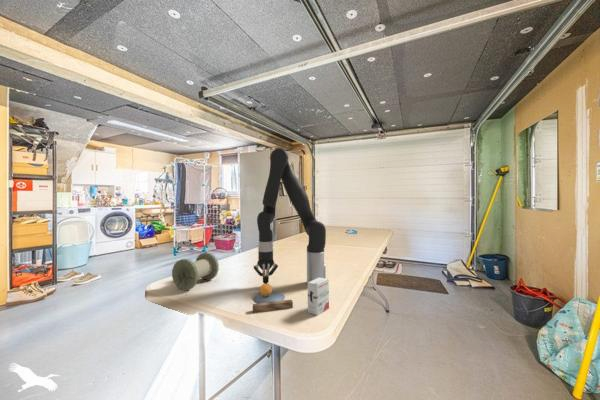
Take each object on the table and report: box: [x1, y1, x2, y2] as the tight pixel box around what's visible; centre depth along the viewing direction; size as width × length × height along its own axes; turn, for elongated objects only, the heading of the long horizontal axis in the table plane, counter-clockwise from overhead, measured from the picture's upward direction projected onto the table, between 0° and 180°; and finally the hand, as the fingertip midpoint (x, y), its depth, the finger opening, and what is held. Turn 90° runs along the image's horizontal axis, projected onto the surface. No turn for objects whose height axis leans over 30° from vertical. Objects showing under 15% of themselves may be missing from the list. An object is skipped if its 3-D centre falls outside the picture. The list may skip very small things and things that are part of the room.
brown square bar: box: [252, 299, 294, 314], centre depth 89 cm, size 16×2×2 cm, turn 105°
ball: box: [259, 283, 273, 297], centre depth 102 cm, size 6×6×6 cm
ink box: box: [307, 277, 330, 316], centre depth 89 cm, size 8×5×12 cm, turn 140°
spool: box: [171, 252, 220, 291], centre depth 117 cm, size 16×15×15 cm
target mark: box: [253, 290, 286, 304], centre depth 100 cm, size 14×14×1 cm
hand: (265, 283), depth 114 cm, fingers closed
